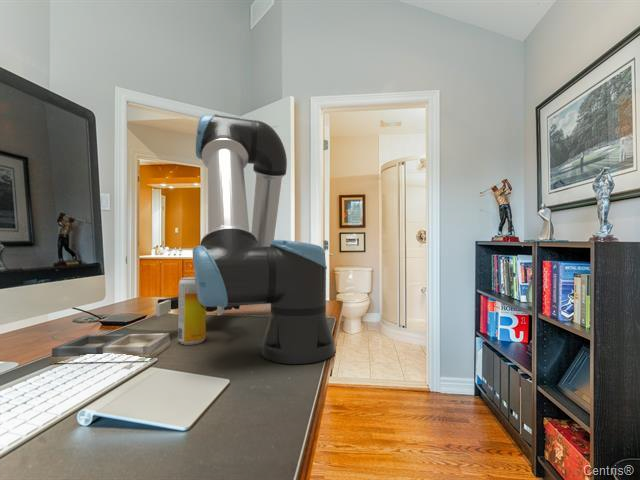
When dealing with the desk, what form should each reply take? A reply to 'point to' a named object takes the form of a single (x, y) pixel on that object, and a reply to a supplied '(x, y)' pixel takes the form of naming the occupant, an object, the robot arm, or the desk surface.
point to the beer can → (190, 314)
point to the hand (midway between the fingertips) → (188, 309)
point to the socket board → (112, 345)
